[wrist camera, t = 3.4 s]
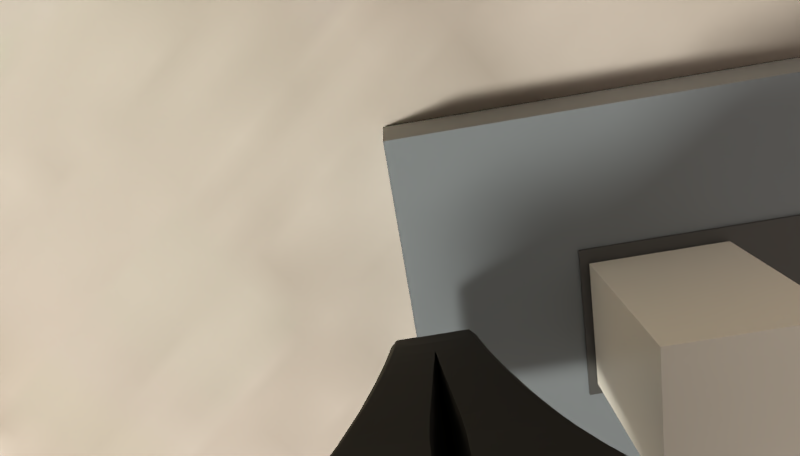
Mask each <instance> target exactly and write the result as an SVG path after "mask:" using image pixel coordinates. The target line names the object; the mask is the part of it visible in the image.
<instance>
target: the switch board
mask: <svg viewBox="0 0 800 456" xmlns="http://www.w3.org/2000/svg"><path fill="white" fill-rule="evenodd" d="M383 143H384V149H385V155H386V161H387V166H388V172H389V178H390V184H391V189H392V195H393V201H394V207H395V212H396V218H397V224H398V230H399V236H400V241H401V247H402V253H403V259H404V264H405V270H406V276H407V282H408V287H409V293H410V299H411V305H412V311H413V316H414V322H415V328H416V334H417V337H423V336H429V335H435V334H441V333H448V332H454V331H460V330H466V329H469V330H471V331H472V332H473V333H475V334H476V335H477V336H478V338H479V339H480V340H481V341H482V343H483V344H484V345H485V346H486V347H487V348H488V349H489V351H490V352H491V353H492V354H493V355H494V356H495V357H496V358H497V359H498V360H499V361H500V362H501V363H502V364H503V365H504V366H505V367H506V368H507V369H508V370H509V371H510V372H511V373H512V374H513V375H515V376H516V377H517V378H518V379H519V380H520V381H521V382H522V383H523V384H525V385H526V386H527V387H528V388H529V389H530V390H531V391H532V392H534V393H535V394H536V395H537V396H538V397H540V398H541V399H542V400H543V401H545V402H546V403H547V404H548V405H550V406H551V407H552V408H554V409H555V410H556V411H558V412H559V413H560V414H561V415H563V416H564V417H566V418H567V419H568V420H570V421H571V422H573V423H574V424H575V425H577V426H578V427H580V428H582V429H583V430H585V431H586V432H588V433H590V434H591V435H593V436H594V437H596V438H598V439H599V440H601V441H602V442H604V443H606V444H607V445H609V446H611V447H613V448H615V449H616V450H618V451H620V452H622V453H624V454H626V455H627V456H640V454H639V452H638V451H637V449H636V447H635V446H634V444H633V442H632V440H631V439H630V437H629V435H628V434H627V432H626V430H625V429H624V427H623V425H622V424H621V422H620V420H619V419H618V417H617V415H616V414H615V412H614V410H613V408H612V407H611V405H610V403H609V402H608V400H607V398H606V397H605V395H604V393H603V392H602V390H601V388H600V387H599V385H598V379H597V365H596V351H595V337H594V323H593V309H592V295H591V281H590V267H589V264H590V263H596V262H602V261H608V260H615V259H621V258H627V257H633V256H639V255H646V254H652V253H658V252H664V251H671V250H677V249H683V248H689V247H696V246H702V245H708V244H714V243H721V242H727V241H730V242H732V243H734V244H735V245H737V246H738V247H740V248H742V249H743V250H745V251H746V252H748V253H749V254H751V255H753V256H754V257H756V258H757V259H759V260H761V261H762V262H764V263H765V264H767V265H768V266H770V267H772V268H773V269H775V270H776V271H778V272H780V273H781V274H783V275H784V276H786V277H788V278H789V279H791V280H792V281H794V282H795V283H797V284H799V285H800V57H798V58H792V59H786V60H780V61H774V62H768V63H762V64H756V65H750V66H744V67H738V68H732V69H726V70H720V71H714V72H708V73H703V74H697V75H691V76H685V77H679V78H673V79H667V80H661V81H655V82H649V83H643V84H637V85H631V86H625V87H619V88H613V89H607V90H601V91H595V92H589V93H583V94H577V95H571V96H565V97H559V98H554V99H548V100H542V101H536V102H530V103H524V104H518V105H512V106H506V107H500V108H494V109H488V110H482V111H476V112H470V113H464V114H458V115H452V116H446V117H440V118H434V119H428V120H422V121H416V122H410V123H405V124H399V125H393V126H387V127H383Z"/></svg>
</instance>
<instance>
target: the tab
mask: <svg viewBox="0 0 800 456" xmlns="http://www.w3.org/2000/svg"><path fill="white" fill-rule="evenodd" d="M589 267H590V281H591V295H592V309H593V323H594V337H595V351H596V365H597V379H598V385H599V387H600V388H601V390H602V392H603V393H604V395H605V397H606V398H607V400H608V402H609V403H610V405H611V407H612V408H613V410H614V412H615V414H616V415H617V417H618V419H619V420H620V422H621V424H622V425H623V427H624V429H625V430H626V432H627V434H628V435H629V437H630V439H631V440H632V442H633V444H634V446H635V447H636V449H637V451H638V452H639V454H640V456H800V285H799V284H797V283H795V282H794V281H792V280H791V279H789V278H788V277H786V276H784V275H783V274H781V273H780V272H778V271H776V270H775V269H773V268H772V267H770V266H768V265H767V264H765V263H764V262H762V261H761V260H759V259H757V258H756V257H754V256H753V255H751V254H749V253H748V252H746V251H745V250H743V249H742V248H740V247H738V246H737V245H735V244H734V243H732V242H730V241H727V242H721V243H714V244H708V245H702V246H696V247H689V248H683V249H677V250H671V251H664V252H658V253H652V254H646V255H639V256H633V257H627V258H621V259H615V260H608V261H602V262H596V263H590V264H589Z"/></svg>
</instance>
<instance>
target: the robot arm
mask: <svg viewBox="0 0 800 456" xmlns="http://www.w3.org/2000/svg"><path fill="white" fill-rule="evenodd" d="M330 456H627V455H626V454H624V453H622V452H620V451H618V450H616V449H615V448H613V447H611V446H609V445H607V444H606V443H604V442H602V441H601V440H599V439H598V438H596V437H594V436H593V435H591V434H590V433H588V432H586V431H585V430H583V429H582V428H580V427H578V426H577V425H575V424H574V423H573V422H571V421H570V420H568V419H567V418H566V417H564V416H563V415H561V414H560V413H559V412H558V411H556V410H555V409H554V408H552V407H551V406H550V405H548V404H547V403H546V402H545V401H543V400H542V399H541V398H540V397H538V396H537V395H536V394H535V393H534V392H532V391H531V390H530V389H529V388H528V387H527V386H526V385H525V384H523V383H522V382H521V381H520V380H519V379H518V378H517V377H516V376H515V375H513V374H512V373H511V372H510V371H509V370H508V369H507V368H506V367H505V366H504V365H503V364H502V363H501V362H500V361H499V360H498V359H497V358H496V357H495V356H494V355H493V354H492V353H491V352H490V351H489V349H488V348H487V347H486V346H485V345H484V344H483V343H482V341H481V340H480V339H479V338H478V336H477V335H476V334H475V333H473V332H472V331H471V330H469V329H466V330H460V331H454V332H448V333H441V334H435V335H429V336H423V337H417V338H410V339H404V340H398V341H396V342H395V344H394V345H393V346H392V348H391V350H390V353H389V355H388V358H387V360H386V362H385V365H384V367H383V369H382V371H381V373H380V375H379V377H378V379H377V381H376V383H375V385H374V387H373V389H372V391H371V392H370V394H369V396H368V398H367V400H366V401H365V403H364V405H363V407H362V409H361V410H360V412H359V414H358V415H357V417H356V418H355V420H354V421H353V423H352V424H351V426H350V427H349V429H348V430H347V432H346V433H345V435H344V437H343V438H342V440H341V441H340V443H339V444H338V446H337V447H336V448H335V450H334V451H333V453H332V454H331V455H330Z"/></svg>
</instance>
